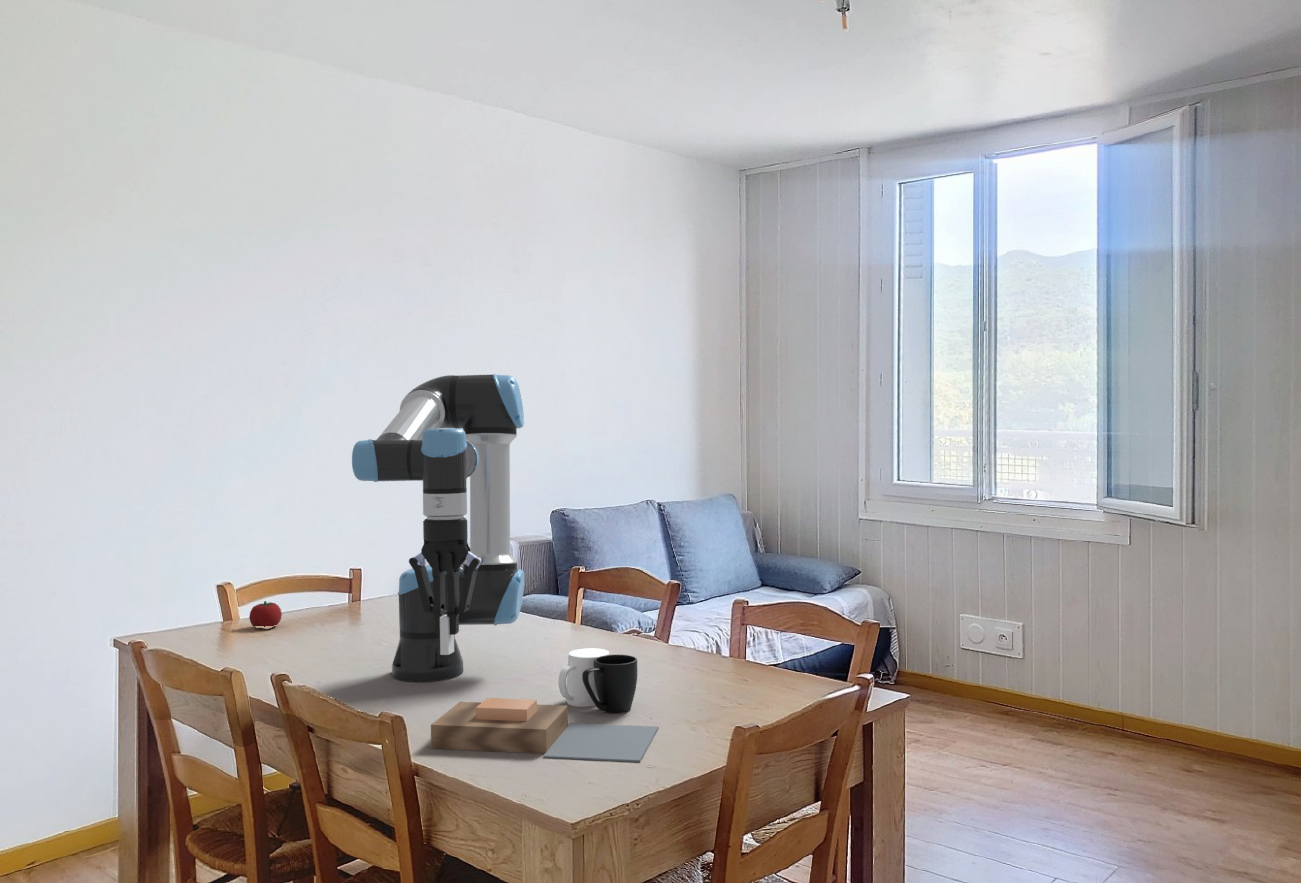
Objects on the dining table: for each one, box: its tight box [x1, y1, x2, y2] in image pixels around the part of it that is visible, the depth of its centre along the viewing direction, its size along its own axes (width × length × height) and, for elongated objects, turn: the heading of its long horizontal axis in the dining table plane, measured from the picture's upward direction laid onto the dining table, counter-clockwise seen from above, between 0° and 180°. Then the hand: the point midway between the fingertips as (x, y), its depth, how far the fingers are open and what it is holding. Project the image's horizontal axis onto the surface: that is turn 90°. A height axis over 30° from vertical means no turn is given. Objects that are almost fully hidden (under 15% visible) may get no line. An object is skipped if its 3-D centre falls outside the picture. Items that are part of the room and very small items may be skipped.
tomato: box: [248, 600, 283, 627], centre depth 275 cm, size 8×8×7 cm
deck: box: [430, 701, 569, 755], centre depth 179 cm, size 20×14×4 cm
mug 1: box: [558, 647, 610, 708], centre depth 201 cm, size 12×9×8 cm
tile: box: [476, 697, 538, 721], centre depth 179 cm, size 9×6×2 cm, turn 80°
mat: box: [542, 722, 660, 763], centre depth 176 cm, size 16×18×1 cm
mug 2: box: [582, 654, 638, 715], centre depth 194 cm, size 8×12×10 cm
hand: (447, 653), depth 180 cm, fingers closed
